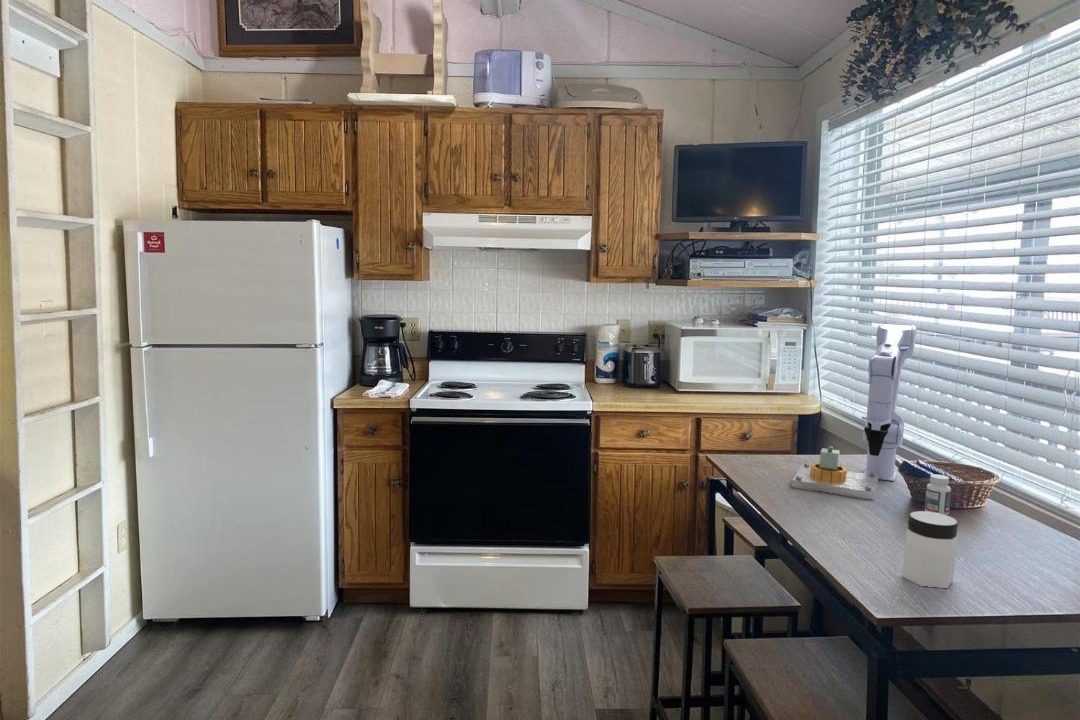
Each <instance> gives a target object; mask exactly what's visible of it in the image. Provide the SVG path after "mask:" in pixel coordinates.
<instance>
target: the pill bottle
mask: <svg viewBox="0 0 1080 720" xmlns="http://www.w3.org/2000/svg"><path fill="white" fill-rule="evenodd" d="M929 477H930V478H929V481H930V483H927V485H926V489H925V502H924V511H928V512H935V513H940V514H944V515H947V516H949V514H950V507H951V495H952V488H951V487H950V486H949V485H948V484H949V482H950V477H949V476H947V475H943V474H935V473H934V474H931V475H930V476H929Z"/></svg>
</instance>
